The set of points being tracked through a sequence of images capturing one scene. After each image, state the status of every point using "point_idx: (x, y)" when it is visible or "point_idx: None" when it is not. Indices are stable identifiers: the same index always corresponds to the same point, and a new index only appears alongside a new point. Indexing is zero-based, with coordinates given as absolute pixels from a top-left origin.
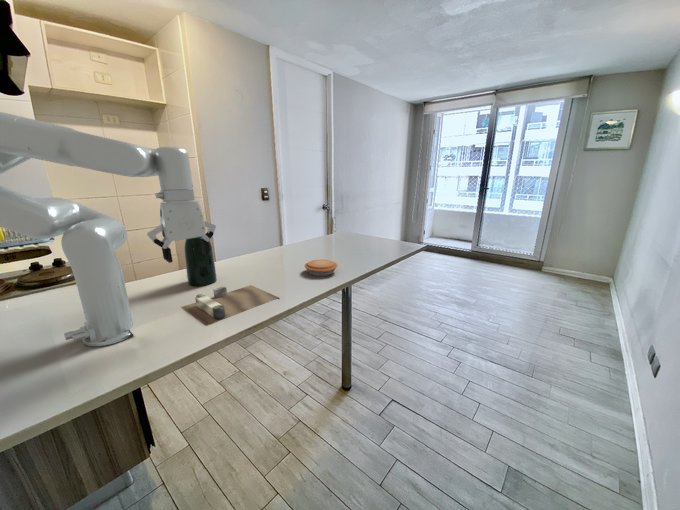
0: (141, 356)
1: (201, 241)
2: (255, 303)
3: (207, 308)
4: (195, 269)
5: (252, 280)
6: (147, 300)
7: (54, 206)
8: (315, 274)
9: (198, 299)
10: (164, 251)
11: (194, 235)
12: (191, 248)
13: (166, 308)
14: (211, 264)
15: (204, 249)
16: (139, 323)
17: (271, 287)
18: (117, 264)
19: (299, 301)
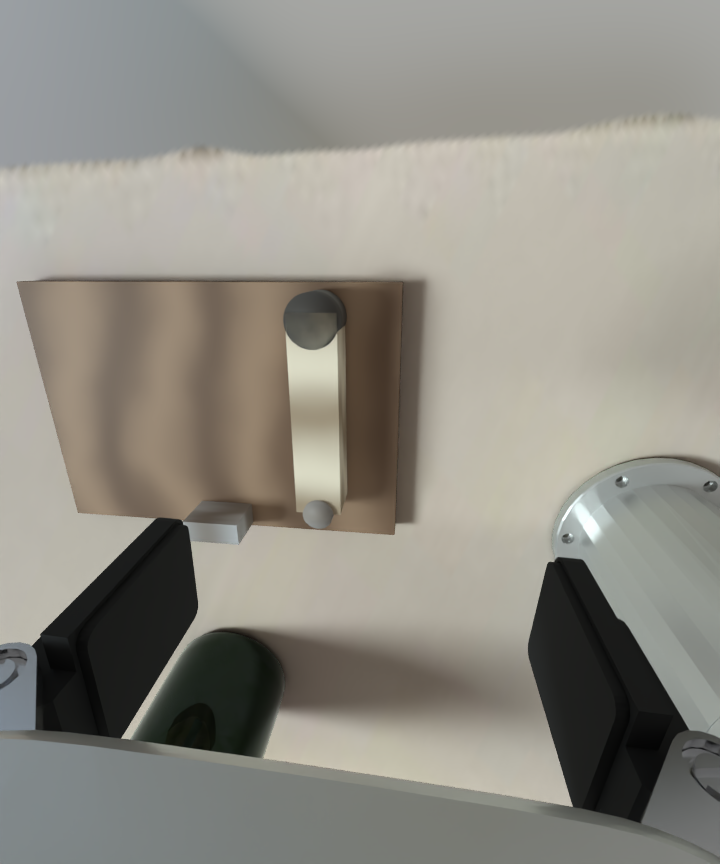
0: (672, 283)
1: (104, 731)
2: (137, 316)
3: (341, 388)
4: (231, 735)
5: (55, 572)
6: (439, 693)
7: None
8: None
9: (339, 483)
10: (671, 706)
11: (136, 798)
12: None
13: (422, 587)
14: (150, 728)
15: (156, 589)
16: (544, 545)
17: (10, 448)
18: None
19: None
